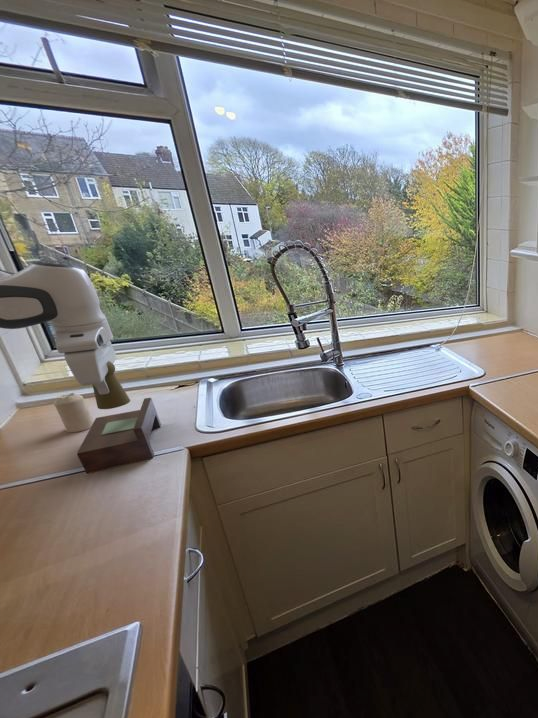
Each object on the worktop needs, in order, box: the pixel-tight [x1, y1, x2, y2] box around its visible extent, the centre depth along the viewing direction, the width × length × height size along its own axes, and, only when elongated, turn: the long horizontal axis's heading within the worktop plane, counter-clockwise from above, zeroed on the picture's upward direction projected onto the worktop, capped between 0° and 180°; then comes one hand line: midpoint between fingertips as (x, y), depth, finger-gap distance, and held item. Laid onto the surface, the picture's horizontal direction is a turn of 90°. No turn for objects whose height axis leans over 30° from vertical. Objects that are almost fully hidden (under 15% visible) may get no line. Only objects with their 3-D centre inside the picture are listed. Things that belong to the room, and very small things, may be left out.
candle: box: [53, 392, 95, 433], centre depth 110 cm, size 6×6×10 cm
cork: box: [91, 361, 131, 410], centre depth 98 cm, size 6×6×11 cm
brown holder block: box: [76, 397, 162, 474], centre depth 102 cm, size 12×20×8 cm, turn 34°
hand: (107, 388), depth 99 cm, fingers closed on cork, 4 cm apart
